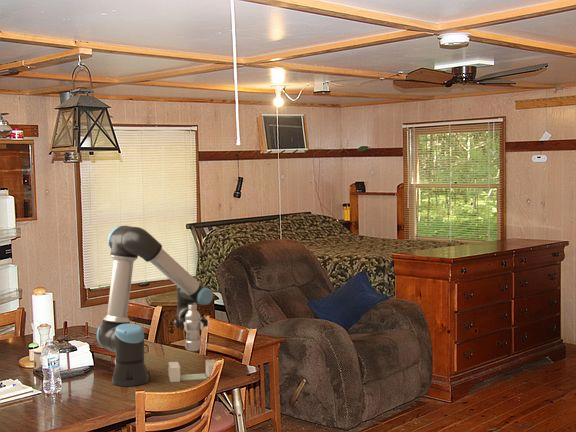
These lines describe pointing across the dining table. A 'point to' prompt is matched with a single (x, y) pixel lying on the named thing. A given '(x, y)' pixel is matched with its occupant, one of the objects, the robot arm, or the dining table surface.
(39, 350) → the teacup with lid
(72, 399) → the dining table surface
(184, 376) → the gap mat
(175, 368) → the gap blocks
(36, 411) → the dining table surface
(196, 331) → the plastic bottle
